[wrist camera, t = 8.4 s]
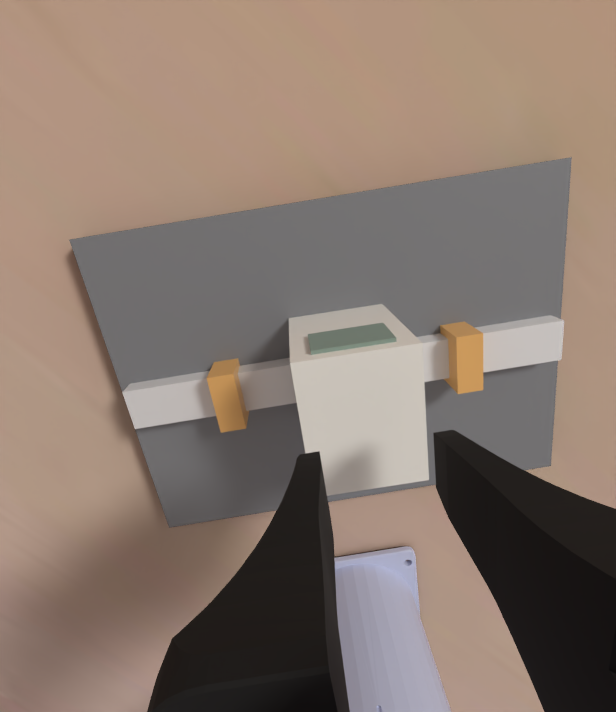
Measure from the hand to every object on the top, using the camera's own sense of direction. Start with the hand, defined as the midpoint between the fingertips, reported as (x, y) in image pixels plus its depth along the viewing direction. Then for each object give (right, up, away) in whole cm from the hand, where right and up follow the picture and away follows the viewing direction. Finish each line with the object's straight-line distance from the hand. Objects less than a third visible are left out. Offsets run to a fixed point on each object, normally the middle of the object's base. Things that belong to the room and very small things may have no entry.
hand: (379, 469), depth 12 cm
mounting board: (-1, +3, +9) cm, 9 cm away
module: (0, +3, +8) cm, 8 cm away
